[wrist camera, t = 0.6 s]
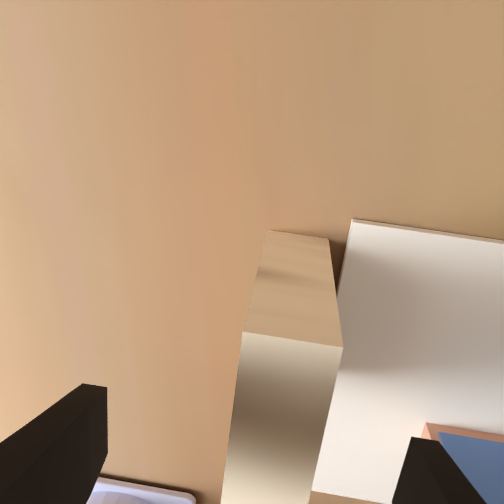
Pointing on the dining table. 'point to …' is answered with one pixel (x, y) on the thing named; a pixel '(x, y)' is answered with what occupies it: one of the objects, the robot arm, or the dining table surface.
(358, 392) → the mat
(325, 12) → the dining table surface
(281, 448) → the tall beige block
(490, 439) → the tile
